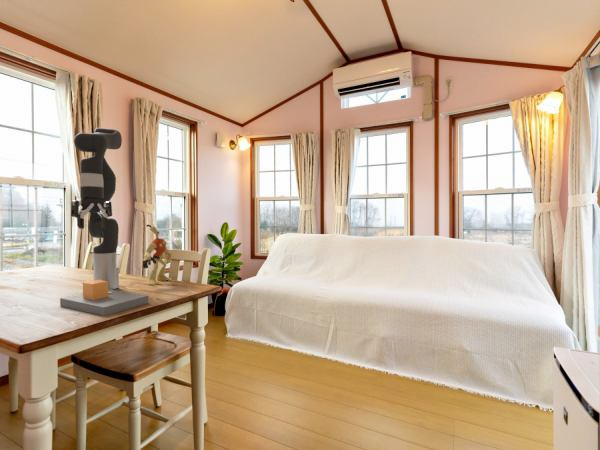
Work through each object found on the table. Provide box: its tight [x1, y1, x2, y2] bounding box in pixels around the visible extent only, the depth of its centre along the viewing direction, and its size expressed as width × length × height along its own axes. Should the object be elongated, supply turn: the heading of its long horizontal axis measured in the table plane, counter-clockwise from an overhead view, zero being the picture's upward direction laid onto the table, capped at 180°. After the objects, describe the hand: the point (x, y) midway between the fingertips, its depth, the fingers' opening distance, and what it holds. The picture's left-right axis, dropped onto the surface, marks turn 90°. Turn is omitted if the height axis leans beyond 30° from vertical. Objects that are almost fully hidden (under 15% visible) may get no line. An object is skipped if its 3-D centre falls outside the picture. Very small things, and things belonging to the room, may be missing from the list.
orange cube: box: [82, 279, 108, 300], centre depth 124 cm, size 6×6×6 cm
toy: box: [142, 224, 173, 286], centre depth 163 cm, size 23×9×30 cm, turn 171°
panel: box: [59, 289, 149, 317], centre depth 125 cm, size 18×26×4 cm
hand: (92, 228), depth 124 cm, fingers open, 8 cm apart
